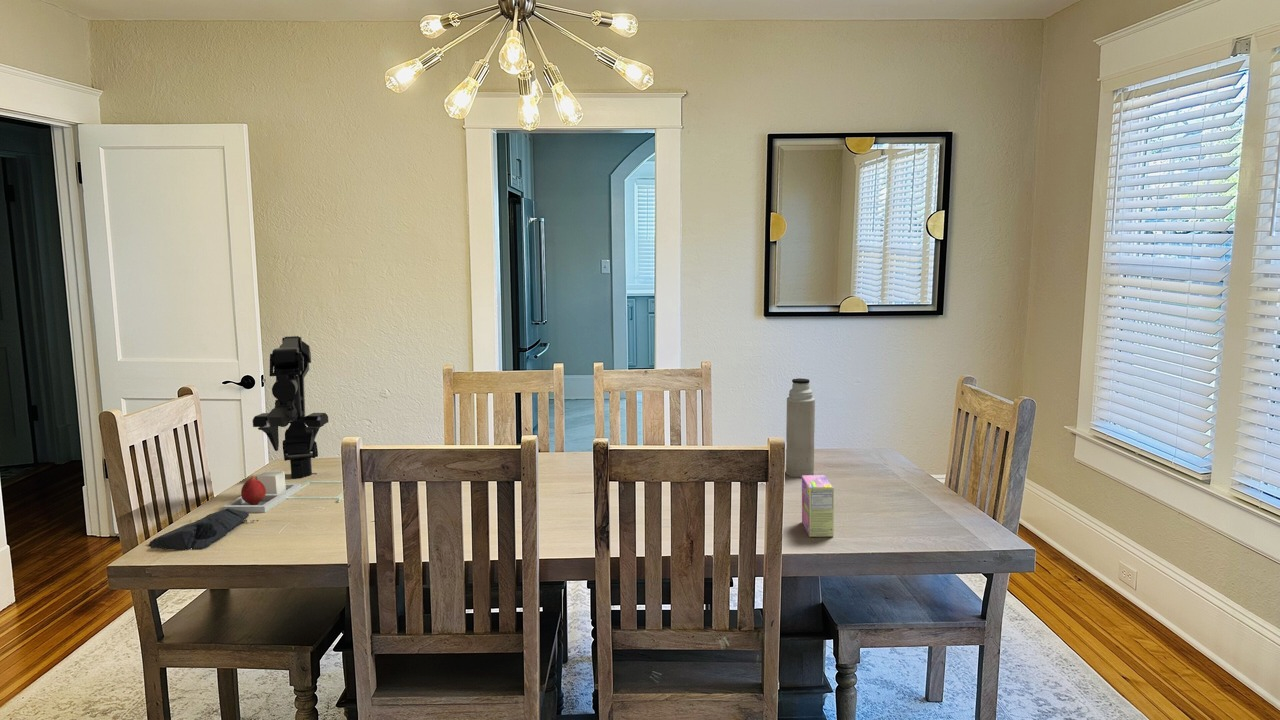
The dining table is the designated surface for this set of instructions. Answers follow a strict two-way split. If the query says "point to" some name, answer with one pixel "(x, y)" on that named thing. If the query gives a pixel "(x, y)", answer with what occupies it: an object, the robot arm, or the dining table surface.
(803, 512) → the box
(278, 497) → the grey divided tray
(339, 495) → the pale green square frame
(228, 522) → the dark folded cloth
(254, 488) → the onion
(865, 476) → the dining table surface
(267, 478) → the cream block
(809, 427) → the thermos bottle
